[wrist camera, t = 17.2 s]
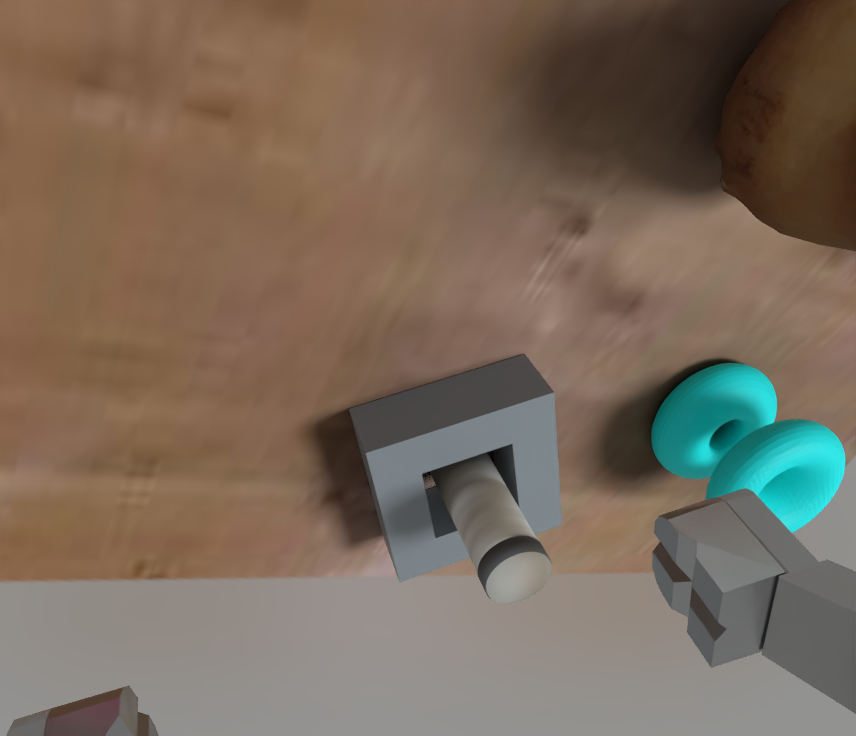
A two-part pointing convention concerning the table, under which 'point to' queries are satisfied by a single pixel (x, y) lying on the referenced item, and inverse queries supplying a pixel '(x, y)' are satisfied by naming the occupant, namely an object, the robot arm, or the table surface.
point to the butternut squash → (797, 125)
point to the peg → (493, 529)
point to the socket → (458, 455)
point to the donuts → (747, 443)
